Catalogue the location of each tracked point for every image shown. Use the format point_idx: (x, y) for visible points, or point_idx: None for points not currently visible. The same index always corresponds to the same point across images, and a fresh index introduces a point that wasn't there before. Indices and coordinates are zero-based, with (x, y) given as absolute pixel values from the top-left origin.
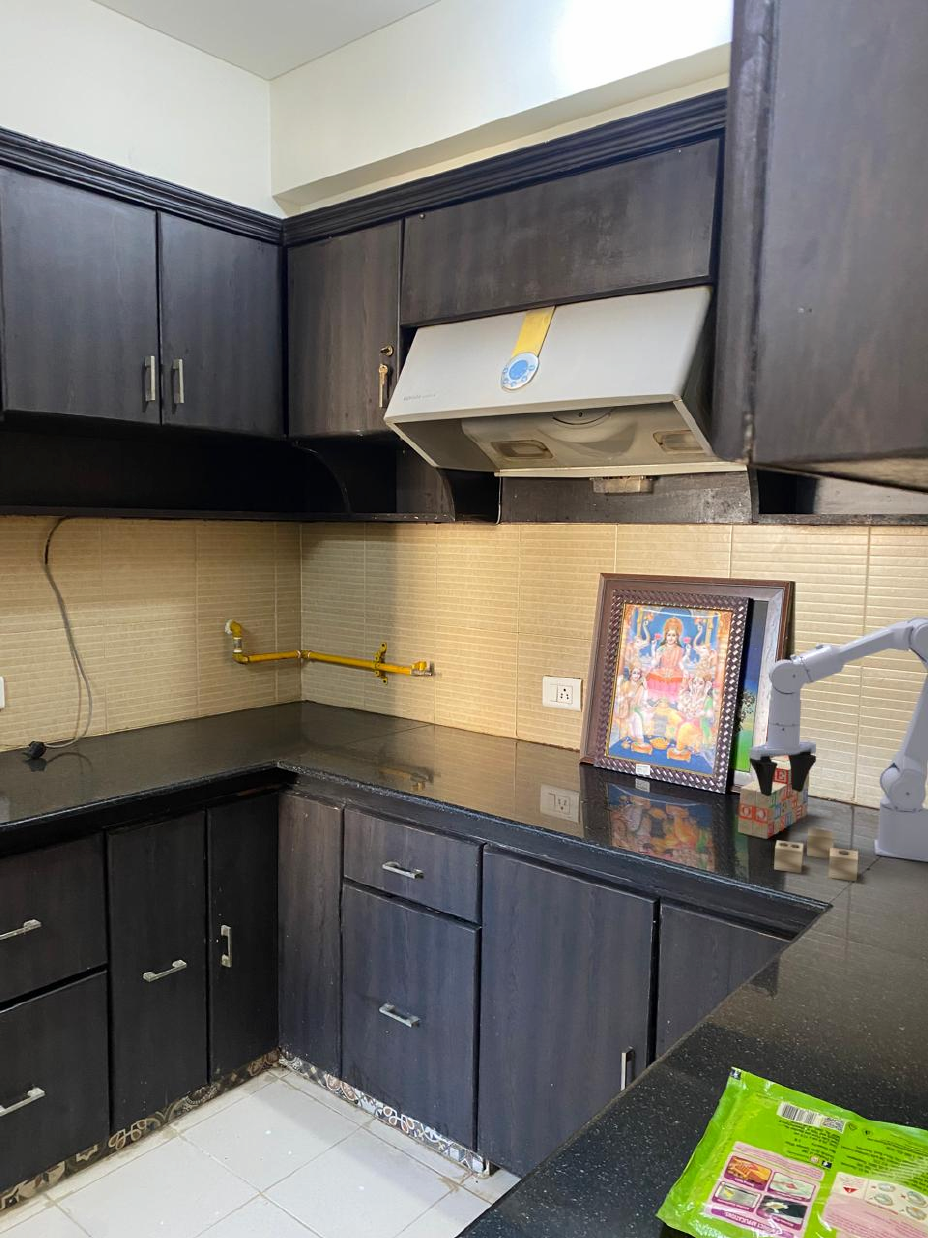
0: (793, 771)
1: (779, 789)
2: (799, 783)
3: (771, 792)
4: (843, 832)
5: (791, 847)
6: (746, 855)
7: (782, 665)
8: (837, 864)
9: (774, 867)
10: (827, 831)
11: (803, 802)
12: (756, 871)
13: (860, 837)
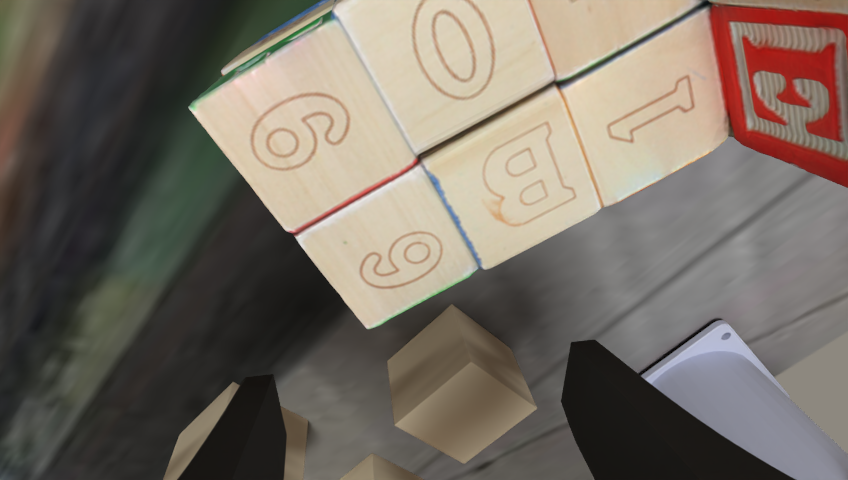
0: (663, 473)
1: (544, 238)
2: (591, 453)
3: (282, 467)
4: (739, 199)
5: None
6: (136, 318)
7: None
8: None
9: (178, 440)
10: (509, 406)
11: None
12: (99, 440)
13: (733, 262)
